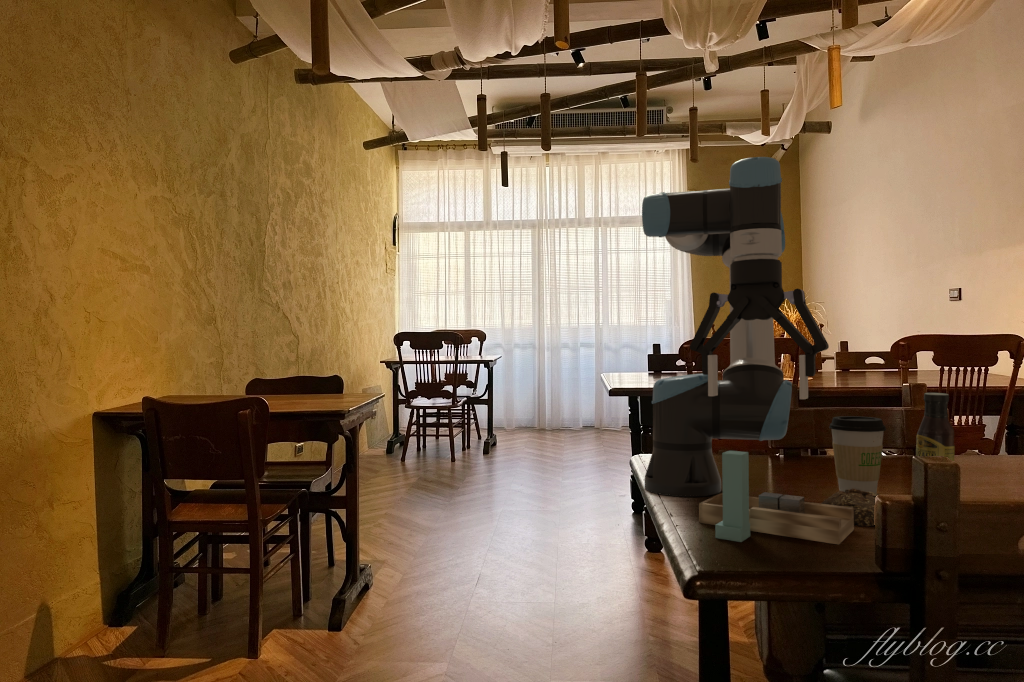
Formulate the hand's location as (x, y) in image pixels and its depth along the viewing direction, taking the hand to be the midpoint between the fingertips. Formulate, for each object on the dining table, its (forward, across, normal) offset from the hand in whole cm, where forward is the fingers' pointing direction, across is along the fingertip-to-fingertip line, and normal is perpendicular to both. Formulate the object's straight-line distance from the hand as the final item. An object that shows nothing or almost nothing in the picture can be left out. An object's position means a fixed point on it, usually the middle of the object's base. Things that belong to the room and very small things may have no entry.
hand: (756, 397), depth 108 cm
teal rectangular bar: (+21, -3, -3) cm, 22 cm away
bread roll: (+22, +11, +21) cm, 32 cm away
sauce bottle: (+21, +23, +43) cm, 53 cm away
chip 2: (+18, +4, +7) cm, 19 cm away
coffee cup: (+21, +10, +37) cm, 44 cm away
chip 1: (+18, 0, +7) cm, 19 cm away
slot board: (+21, +1, +7) cm, 22 cm away
